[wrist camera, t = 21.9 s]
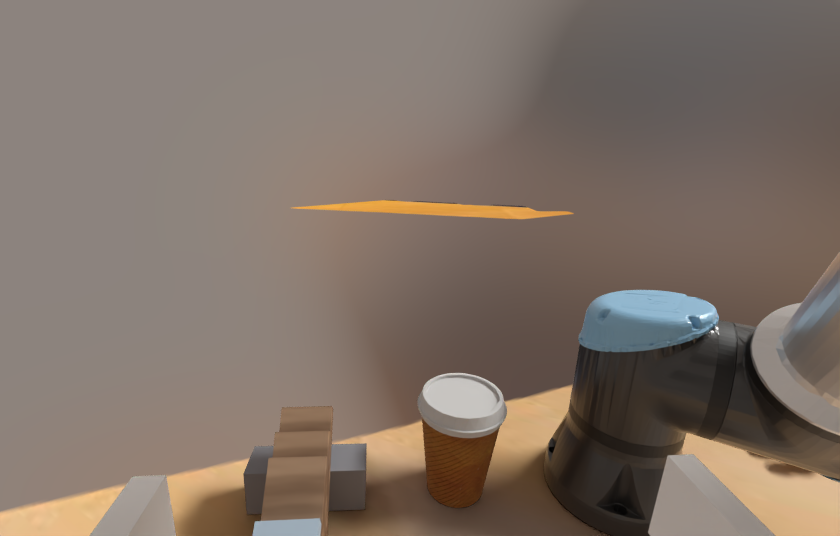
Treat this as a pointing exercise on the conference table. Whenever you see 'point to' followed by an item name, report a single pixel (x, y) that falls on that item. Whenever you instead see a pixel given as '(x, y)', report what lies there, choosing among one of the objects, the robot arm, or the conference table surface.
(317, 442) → the walnut domino
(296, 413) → the walnut domino
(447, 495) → the disposable coffee cup
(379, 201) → the conference table surface
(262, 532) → the slate domino
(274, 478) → the walnut domino
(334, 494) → the block
